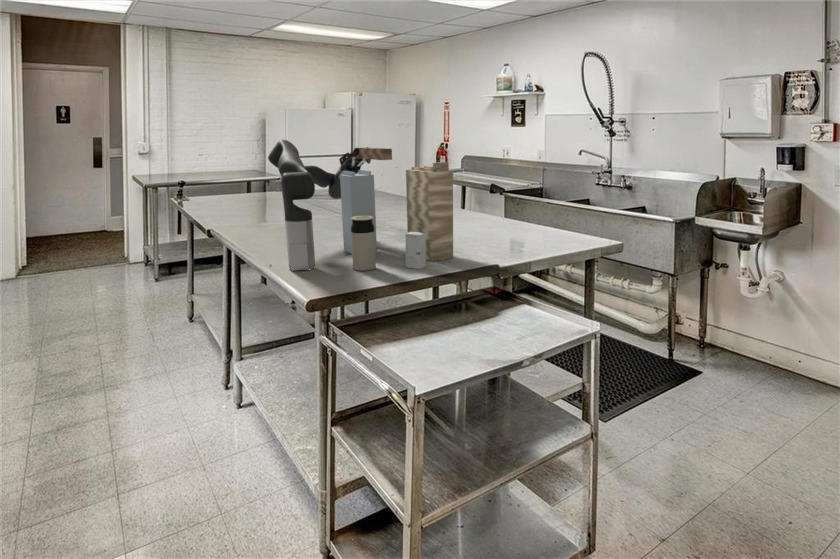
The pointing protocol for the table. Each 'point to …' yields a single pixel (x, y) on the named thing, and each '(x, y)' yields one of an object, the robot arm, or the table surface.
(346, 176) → the slate pedestal
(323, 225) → the table surface
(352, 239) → the travel mug
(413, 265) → the skincare box
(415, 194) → the birch stand
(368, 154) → the walnut rail
